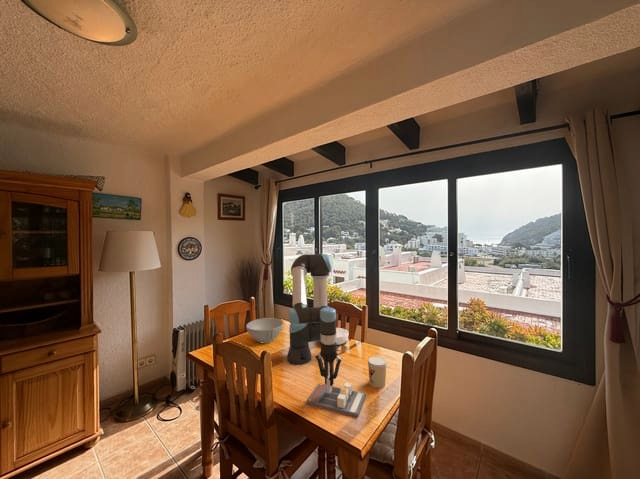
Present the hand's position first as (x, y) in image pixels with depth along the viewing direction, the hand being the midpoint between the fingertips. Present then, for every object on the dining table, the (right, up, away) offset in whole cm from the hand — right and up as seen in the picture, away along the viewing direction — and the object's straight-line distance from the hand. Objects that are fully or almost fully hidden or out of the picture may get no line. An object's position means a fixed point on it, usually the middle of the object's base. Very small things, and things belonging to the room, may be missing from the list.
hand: (329, 391), depth 123 cm
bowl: (+7, -2, +63) cm, 63 cm away
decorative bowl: (-45, -3, +70) cm, 83 cm away
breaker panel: (+3, -3, -2) cm, 5 cm away
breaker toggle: (+7, -1, -3) cm, 8 cm away
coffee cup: (+25, -3, +11) cm, 27 cm away
